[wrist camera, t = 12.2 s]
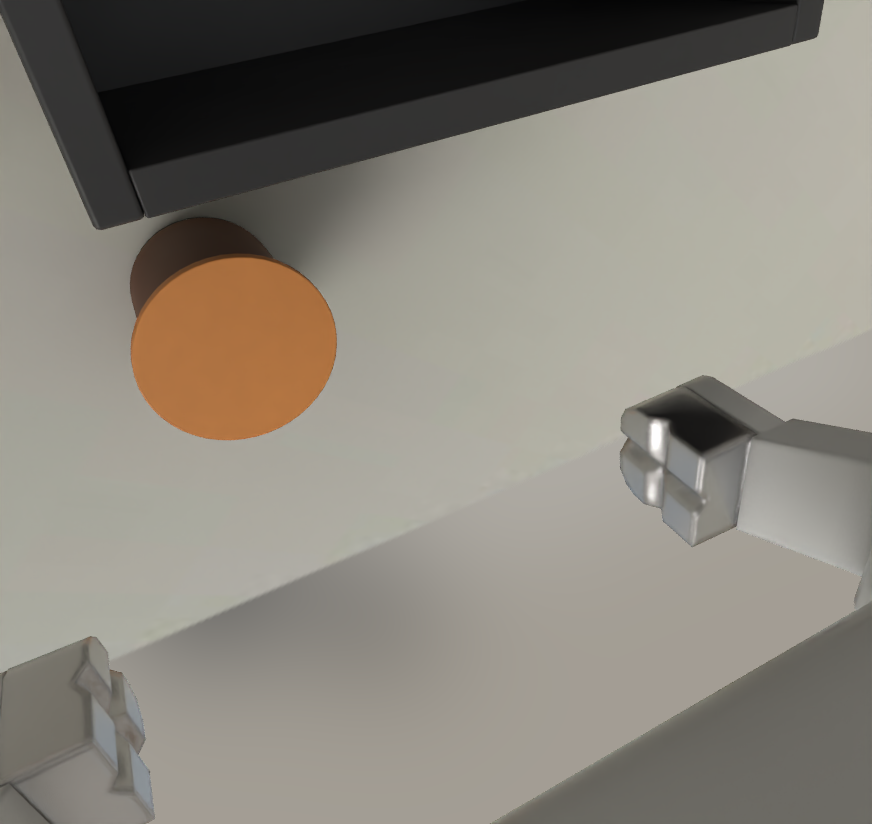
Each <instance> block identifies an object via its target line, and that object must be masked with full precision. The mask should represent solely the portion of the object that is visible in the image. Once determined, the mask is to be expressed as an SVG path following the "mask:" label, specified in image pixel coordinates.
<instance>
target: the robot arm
mask: <svg viewBox="0 0 872 824" xmlns="http://www.w3.org/2000/svg"><path fill="white" fill-rule="evenodd" d="M621 431H622V432H623V433H624V434H625V435H626V436H627V437H628V439H627V441H626V442H625V444H624V446H623V448H622V449H621V451H620V468H621V471H622V474H623V476H624V479H625V482H626V484H627V485H628V487H629V488H630V490H631V491H632V492H633V494H634V495H635V496H636V497H637V498H638V499H639V500H640V501H641V502H642V503H644V504H646V505H649V506H653V507H657V508H660V509H661V510H662V518H663V522H664V523H666V524H667V525H668V526H669V527H670V528H671V529H673V531H675V532H676V533H677V534H678V535H679V536H680V537H681V538H682V539H683V540H684V541H686V542H687V543H688V544H689V545H690V546H691V547H694V546H696V545H698V544H700V543H702V542H704V541H706V540H708V539H711V538H713V537H715V536H717V535H719V534H721V533H724V532H726V531H728V530H730V529H732V528H734V527H736V526H737V527H736V530H739V531H742V532H744V533H747V534H750V535H752V536H755V537H758V538H761V539H763V540H766V541H768V542H771V543H774V544H776V545H779V546H781V547H784V548H787V549H790V550H792V551H795V552H798V553H800V554H803V555H805V556H808V557H811V558H813V559H816V560H819V561H821V562H824V563H827V564H829V565H832V566H835V567H837V568H840V569H843V570H845V571H848V572H851V573H853V574H856V575H859V576H861V577H862V578H861V581H860V584H859V587H858V589H857V592H856V595H855V599H854V603H855V609H856V611H854V612H852V613H851V614H849V615H847V616H846V617H844V618H842V619H840V620H839V621H837V622H835V623H833V624H832V625H830V626H828V627H827V628H825V629H823V630H821V631H820V632H818V633H816V634H815V635H813V636H811V637H810V638H808V639H806V640H804V641H803V642H801V643H799V644H797V645H796V646H794V647H792V648H791V649H789V650H787V651H786V652H784V653H782V654H780V655H779V656H777V657H775V658H774V659H772V660H770V661H768V662H766V663H765V664H763V665H761V666H760V667H758V668H756V669H754V670H753V671H751V672H749V673H748V674H746V675H744V676H743V677H741V678H739V679H737V680H736V681H734V682H732V683H730V684H729V685H727V686H725V687H724V688H722V689H720V690H718V691H717V692H715V693H713V694H712V695H710V696H708V697H706V698H705V699H703V700H701V701H700V702H698V703H696V704H694V705H693V706H691V707H689V708H688V709H686V710H684V711H682V712H681V713H679V714H677V715H675V716H674V717H672V718H670V719H669V720H667V721H665V722H663V723H662V724H660V725H658V726H657V727H655V728H653V729H651V730H650V731H648V732H646V733H645V734H643V735H641V736H640V737H638V738H636V739H634V740H633V741H631V742H629V743H628V744H626V745H624V746H622V747H621V748H619V749H617V750H615V751H614V752H612V753H610V754H609V755H607V756H605V757H604V758H602V759H600V760H598V761H597V762H595V763H593V764H592V765H590V766H588V767H586V768H585V769H583V770H581V771H580V772H578V773H576V774H574V775H573V776H571V777H569V778H567V779H566V780H564V781H562V782H561V783H559V784H557V785H555V786H554V787H552V788H550V789H549V790H547V791H545V792H543V793H542V794H540V795H538V796H537V797H535V798H533V799H532V800H530V801H528V802H526V803H525V804H523V805H521V806H519V807H518V808H516V809H514V810H513V811H511V812H509V813H508V814H506V815H504V816H502V817H501V818H499V819H497V820H495V821H494V822H492V823H490V824H872V433H870V432H865V431H859V430H853V429H848V428H842V427H836V426H831V425H825V424H820V423H814V422H809V421H803V420H797V419H791V420H789V421H787V422H785V421H783V420H781V419H780V418H778V417H776V416H775V415H773V414H771V413H770V412H768V411H767V410H765V409H764V408H762V407H760V406H759V405H757V404H755V403H754V402H752V401H751V400H749V399H747V398H746V397H744V396H742V395H741V394H739V393H738V392H736V391H734V390H733V389H731V388H730V387H728V386H726V385H725V384H723V383H721V382H720V381H718V380H717V379H715V378H713V377H710V376H704V375H702V376H700V377H697V378H695V379H693V380H691V381H688V382H686V383H684V384H682V385H679V386H677V387H676V388H673V389H671V390H668V391H666V392H664V393H661V394H659V395H657V396H655V397H652V398H650V399H648V400H645V401H643V402H641V403H638V404H636V405H634V406H632V407H629V408H627V409H625V411H624V413H623V415H622V417H621ZM144 742H145V732H144V725H143V719H142V716H141V712H140V709H139V706H138V702H137V699H136V697H135V695H134V692H133V690H132V688H131V686H130V684H129V683H128V681H127V679H126V678H125V676H124V675H123V673H121V672H117V671H113V670H110V669H109V658H108V652H107V650H106V649H105V648H104V646H103V645H102V644H101V642H100V641H99V640H98V638H97V637H91V636H90V637H88V638H85V639H83V640H80V641H78V642H75V643H73V644H70V645H67V646H65V647H62V648H60V649H57V650H55V651H52V652H50V653H47V654H45V655H42V656H40V657H37V658H35V659H32V660H30V661H27V662H25V663H22V664H20V665H17V666H15V667H12V668H10V669H8V670H7V671H5V672H3V673H0V824H146V823H148V822H150V821H152V820H154V819H155V814H154V805H153V797H152V789H151V780H150V771H149V769H148V768H147V767H146V765H145V764H144V763H143V761H142V760H141V758H140V757H139V756H138V754H139V752H140V750H141V748H142V746H143V744H144Z"/></svg>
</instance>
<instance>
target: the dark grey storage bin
mask: <svg viewBox="0 0 872 824" xmlns="http://www.w3.org/2000/svg"><path fill="white" fill-rule="evenodd" d="M823 4H824V0H0V13H1V16H2V18H3V20H4V23H5V25H6V27H7V29H8V32H9V34H10V36H11V39H12V41H13V43H14V45H15V48H16V50H17V52H18V55H19V57H20V59H21V62H22V64H23V66H24V68H25V71H26V73H27V75H28V78H29V80H30V82H31V84H32V87H33V89H34V91H35V94H36V96H37V98H38V100H39V103H40V105H41V107H42V110H43V112H44V114H45V117H46V119H47V121H48V123H49V126H50V128H51V130H52V133H53V135H54V137H55V139H56V142H57V144H58V146H59V149H60V151H61V153H62V155H63V158H64V160H65V162H66V165H67V167H68V169H69V171H70V174H71V176H72V178H73V181H74V183H75V185H76V188H77V190H78V192H79V194H80V197H81V199H82V201H83V204H84V206H85V208H86V210H87V213H88V215H89V217H90V220H91V222H92V224H93V226H94V227H95V228H96V229H98V230H103V229H107V228H111V227H115V226H118V225H122V224H126V223H129V222H133V221H137V220H140V219H142V218H143V217H144V214H145V216H146V217H147V218H151V217H155V216H159V215H163V214H166V213H170V212H174V211H177V210H181V209H185V208H189V207H192V206H196V205H200V204H203V203H207V202H211V201H215V200H218V199H222V198H226V197H229V196H233V195H237V194H241V193H244V192H248V191H252V190H255V189H259V188H263V187H267V186H270V185H274V184H278V183H281V182H285V181H289V180H293V179H296V178H300V177H304V176H307V175H311V174H315V173H319V172H322V171H326V170H330V169H333V168H337V167H341V166H345V165H348V164H352V163H356V162H359V161H363V160H367V159H371V158H374V157H378V156H382V155H385V154H389V153H393V152H397V151H400V150H404V149H408V148H411V147H415V146H419V145H423V144H426V143H430V142H434V141H437V140H441V139H445V138H449V137H452V136H456V135H460V134H463V133H467V132H471V131H475V130H478V129H482V128H486V127H489V126H493V125H497V124H501V123H504V122H508V121H512V120H515V119H519V118H523V117H527V116H530V115H534V114H538V113H541V112H545V111H549V110H553V109H556V108H560V107H564V106H567V105H571V104H575V103H579V102H582V101H586V100H590V99H593V98H597V97H601V96H605V95H608V94H612V93H616V92H619V91H623V90H627V89H631V88H634V87H638V86H642V85H645V84H649V83H653V82H657V81H660V80H664V79H668V78H671V77H675V76H679V75H683V74H686V73H690V72H694V71H697V70H701V69H705V68H709V67H712V66H716V65H720V64H723V63H727V62H731V61H735V60H738V59H742V58H746V57H749V56H753V55H757V54H761V53H764V52H768V51H772V50H775V49H779V48H783V47H787V46H790V45H791V44H796V43H799V42H803V41H807V40H810V39H814V38H816V37H817V35H818V32H819V27H820V21H821V15H822V10H823Z"/></svg>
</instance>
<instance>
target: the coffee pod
mask: <svg viewBox="0 0 872 824" xmlns="http://www.w3.org/2000/svg"><path fill="white" fill-rule="evenodd" d="M130 293H131V298H132V303H133V306H134V310H135V314H136V317H137V320H136V323H135V326H134V330H133V333H132V340H131V362H132V367H133V372H134V377H135V379H136V382H137V385H138V387H139V390H140V391H141V393H142V395H143V397H144V398H145V400H146V401H147V403H148V404H149V405H150V406H151V408H152V409H153V410H154V411H155V412H156V413H157V414H158V415H159V416H160V417H161V418H163V419H164V420H166V421H167V422H168V423H170V424H171V425H173V426H175V427H177V428H178V429H180V430H182V431H185V432H187V433H190V434H192V435H195V436H199V437H203V438H208V439H216V440H238V439H246V438H251V437H256V436H259V435H263V434H266V433H269V432H271V431H273V430H276V429H278V428H280V427H282V426H283V425H285V424H287V423H289V422H290V421H292V420H293V419H295V418H296V417H297V416H299V415H300V414H301V413H302V412H303V411H304V410H306V409H307V408H308V407H309V406H310V405H311V404H312V402H313V401H314V400H315V399H316V398H317V397H318V395H319V394H320V392H321V391H322V389H323V388H324V386H325V384H326V382H327V380H328V379H329V376H330V373H331V371H332V368H333V365H334V361H335V356H336V347H337V336H336V328H335V322H334V319H333V316H332V313H331V311H330V309H329V307H328V304H327V302H326V301H325V299H324V298H323V296H322V295H321V293H320V292H319V291H318V289H317V288H316V287H315V286H314V285H313V284H312V283H311V282H310V281H309V280H308V279H307V278H306V277H305V276H304V275H302V274H301V273H300V272H299V271H297V270H295V269H294V268H292V267H290V266H289V265H287V264H284V263H282V262H280V261H278V260H275V259H274V258H273V257H272V256H271V255H270V253H269V252H268V251H267V249H266V248H265V247H264V246H263V244H262V243H261V242H260V241H259V240H258V239H257V238H256V237H255V236H254V235H252V234H251V233H250V232H249V231H247V230H245V229H244V228H242V227H241V226H238V225H236V224H234V223H232V222H228V221H225V220H221V219H216V218H203V217H202V218H191V219H187V220H182V221H179V222H176V223H173V224H171V225H169V226H167V227H165V228H164V229H162V230H161V231H159V232H158V233H156V234H155V235H154V236H153V237H152V238H151V239H150V240H148V242H147V243H146V244H145V245H144V246H143V248H142V249H141V251H140V252H139V254H138V256H137V258H136V260H135V262H134V265H133V268H132V272H131V279H130Z"/></svg>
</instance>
